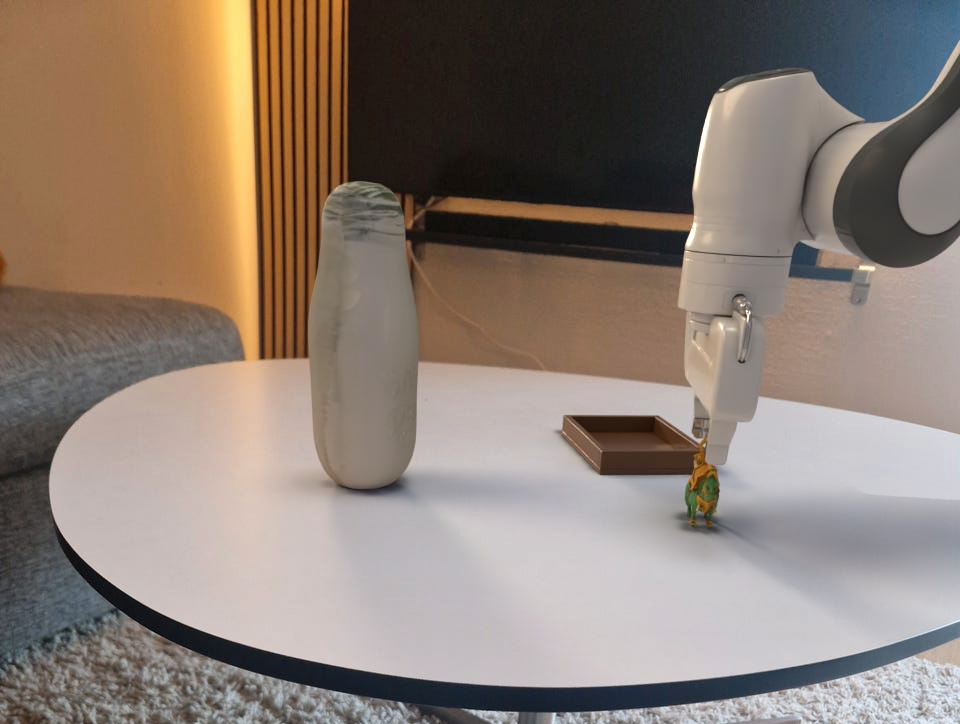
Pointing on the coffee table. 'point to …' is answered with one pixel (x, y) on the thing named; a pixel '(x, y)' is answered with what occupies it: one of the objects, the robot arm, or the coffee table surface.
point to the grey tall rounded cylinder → (363, 340)
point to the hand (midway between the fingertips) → (707, 449)
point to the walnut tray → (631, 444)
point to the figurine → (702, 489)
